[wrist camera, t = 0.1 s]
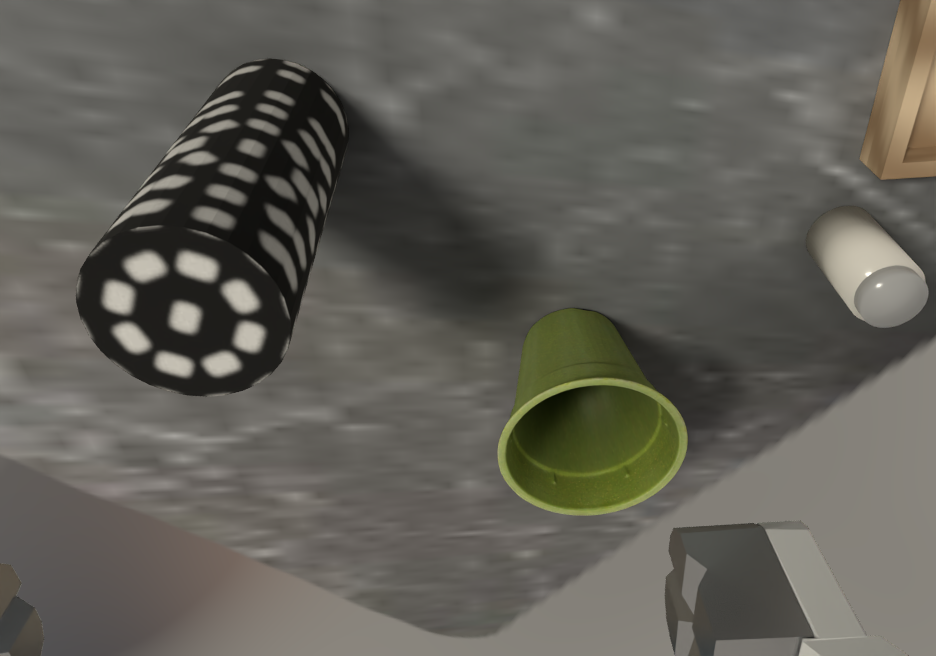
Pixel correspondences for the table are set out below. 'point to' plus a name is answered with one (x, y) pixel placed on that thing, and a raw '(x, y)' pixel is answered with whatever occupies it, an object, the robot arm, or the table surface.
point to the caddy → (906, 99)
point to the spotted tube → (220, 237)
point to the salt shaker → (867, 267)
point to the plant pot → (587, 421)
